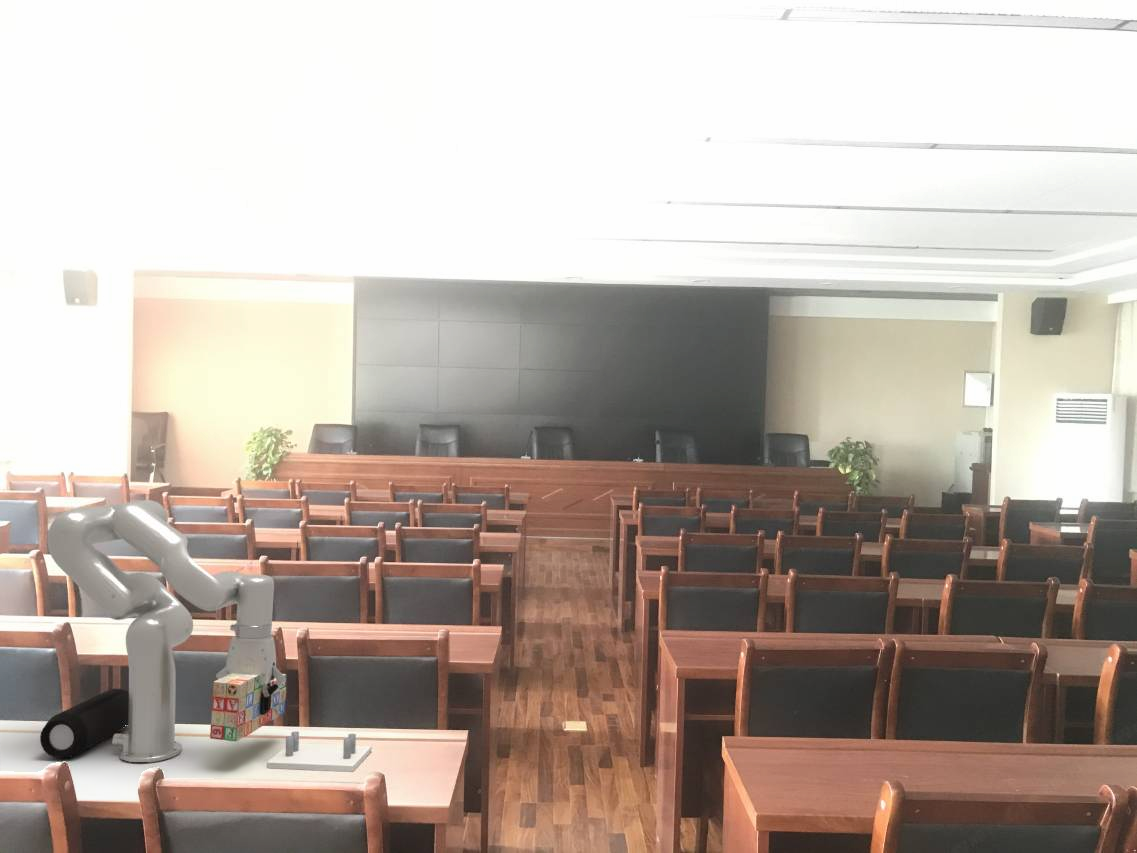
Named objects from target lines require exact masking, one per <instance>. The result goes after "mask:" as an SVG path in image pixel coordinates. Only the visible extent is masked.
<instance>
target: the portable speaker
mask: <svg viewBox="0 0 1137 853" xmlns="http://www.w3.org/2000/svg"><path fill="white" fill-rule="evenodd" d="M128 714H129V690H127V689H122V688H111V689H108V690H106V691H103V692H102V693H99V694H97V695H95V696H92V698H89V699H85V701H82V702H80V703H78V704H76V705H74V706H72V707H70V708H68V709H66V710H63V711H61V712H59V713H57V714H56V715H54V716H52V717H50V719H49V720H48V721H47V722H46V724H45V725H44V726H43V728H42V730H41V732H40V736H39V737H40V738H39V741H40V745H41V748H42V750H43V751H44V753H46V754H47V755H48V756H50V757H52V758H57V759H59V758H60V759H67V758H66V757H70V756H73V757H75V756H76V755H78V754H80V753H82V752H84V751H85V749H86V750H87V749H89V748H91V747H92V746H94V745H96V744H97V743H99V742H101V741H103V740H105V739H106V738H108V737H110V736H112V735H114V734H116V733H118V732H119V731H121V730H123V729H124V728H123V727H125V728H127V726H125V725H128ZM122 728H123V729H122ZM120 729H121V730H120ZM118 730H119V731H118ZM117 731H118V732H117ZM115 732H116V733H115ZM113 733H114V734H113ZM111 734H112V735H111ZM104 738H105V739H104ZM95 743H96V744H95ZM90 746H91V747H90ZM74 755H75V756H74ZM70 758H71V757H70Z"/></svg>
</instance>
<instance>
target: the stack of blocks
mask: <svg viewBox="0 0 1137 853" xmlns="http://www.w3.org/2000/svg"><path fill="white" fill-rule="evenodd" d="M282 674H283V675H284V677H285V678H286V679H287V674H286V673H282ZM258 677H259V675H248V674H238V673H232V674H230V675H227V676H225V677H223V678H220V679H217V680H214V681H213V688H212V689H213V690H212V699H211V719H210V720H211V721H210V734H209V739H211V740H217V741H219V740H220V741H226V742H227V741H228V742H236V743H237V742H238V741H241V740H242V739H243V738H245V737H247V736H249V735H251V734H252V733H255V732H256V731H258V730H259V729H260V728H262V727H263V726H265V725H266V724H268V723H270V722H272V721H274V720H275V719H277V718H279V717H281V716H283V715H284V714H285V712H286V696H287V687H286V685H287V680H286V681H285V682H284V683H283V684H282V685H281V686H280V687H279V688H278V689H277V690H276V691H275V692H274V693H273V694H271V708H270V710H269V711H268V712H267V713H266V714H264V715H261V714H260V707H261V697H263V692H262V689H261V686H258ZM276 681H277V679H276V678H275V679H274V680H272V681H271V684H272V685H274V684H275V683H276Z"/></svg>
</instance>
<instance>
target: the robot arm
mask: <svg viewBox="0 0 1137 853" xmlns="http://www.w3.org/2000/svg"><path fill="white" fill-rule="evenodd" d="M167 513H168V512H167V510H166V509H165V507H164V506H163V505H162V504H160V503H159V502H157V501H154V500H151V499H144V500H142V499H141V500H134V501H129V502H124V503H123V502H122V503H114V504H105V505H104V504H103V505H96V506H95V505H94V506H86V507H78V508H77V507H76V508H73V509H68V510H66V511H64V512H62V513H61V514H58V515H57V516H56V517H55V518H54V520H53V521H52V522H51V524H50V526H49V529H48V532H47V548H48V551H49V554H50V556H51V558H52V560H53V561H54V562H55V564H56V565H57V566H58V567H59V568H60V569H61V570H62V572H63V573H64V574H66V575H67V576H68V577H69V578H70V579H71V580H72V581H73V582H74V583H75V584H76V585H77V586H78V587H79V588H80V590H81V591H82V592H83V593H84V594H85V595H86V596H87V597H88V599H90V601H92V602H93V603H94V604H95V605H96V606H97V607H98V609H99V610H100V611H101V612H102V613H103V614H104V615H106V616H107V617H108V618H109V619H112V620H115V621H121V620H126V619H130V618H133V617H136V618H135V619H134V620H133V621H132V622H131V623H130V624H129V626H128V628H127V630H126V634H125V647H126V654H127V660H128V691H129V714H128V726H127V728H128V729H127V733H125V734H124V733H118V732H116V733H114V734H113V737H112V741H111V744H112V745H113V746H122V749H121V750H120V752H119V758H120V757H121V759H120V760H122V759H123V760H126V761H130V762H129V763H131V762H148V763H153V762H154V763H155V762H161V761H165V760H169V759H171V758H174V757H176V756H177V755H180V754H181V752H182V750H183V748H182V746H183V745H182V743H180V742H179V741H175V736H176V735H175V731H176V728H175V727H176V724H175V723H176V688H177V686H176V684H177V682H176V677H177V676H176V675H177V673H176V664H175V659H174V656H173V648H175V647H177V646H180V645H181V644H183V643H185V642H186V641H187V640H188V639H189V638H190V636H191V635H192V633H193V629H194V621H193V617H192V615H191V613H190V611H189V610H188V609H187V608H186V606H184V605H183V603H182V602H181V601H180V600H179V599H178V598H177V597H176V596H175V595H174V594H173V593H172V592H171V591H170V590H169V589H168V588H167V587H166V586H165V584H163V583H162V582H161V581H160V580H159V579H157V578H156V577H155V576H153V575H151V574H149V573H146V572H145V573H144V572H133V573H129V574H127V573H126V572H124V571H123V570H122V569H121V568H120V567H119V566H118V565H117V564H116V563H115V562H114V561H113V559H111V558H110V557H109V556H108V555H106V554H105V553H104V552H102V551H100V550H98V549H97V548H96V547H94V544H99V543H104V542H111V541H118V540H119V541H120V540H123V541H124V542H126V543H127V544H129V545H130V546H131V547H133V549H135V550H137V551H138V552H139V553H141V555H143V556H145V557H146V558H147V559H148V560H149V561H151V563H153V564H155V566H157V567H158V568H159V570H160V572H161V574H162V576H163V577H164V579H165V581H166V582H167V583H168V585H169V586H170V587H171V588H172V589H173V590H174V591H175V592H176V593H177V594H178V595H180V596H181V597H182V598H183V599H185V600H186V601H188V603H190V604H192V605H193V606H195V607H196V608H198V609H199V610H203V611H205V612H215V611H217V610H220V609H223V608H225V607H228V606H232V605H235V604H236V606H237V608H236V622H235V623H234V624H233V623H232V624H231V625H230V627H229V629H230V631H233V632H234V636H232V637H231V639H230V641H229V647H228V651H227V655H226V663H225V666H224V667H223V668H222V669H221V670H220V671H218V673H216V674H215V677H216V679H217V680H218V679H220V678H223V677H225V676H227V675H230V674H232V673H238V674H248V675H259V677H258V686H261V689H262V692H263V697H261V707H260V714H261V715H264V714H266V713H267V712H268V711H269V710H270V708H271V694H273V693H274V692H275V691H276V690H277V689H278V688H279V687H280V686H281V685H282V684H283V683H284V682H285V681H286V682H287V677H286V678H285V677H284V675H283V674H284V673H282V672H281V671H280V670H279V669H278V668H277V654H276V653H277V652H276V644H275V639H274V638H275V637H274V636H272V627H273V626H272V624H273V608H274V594H275V593H274V592H275V591H274V590H275V581H274V578H273V577H272V576H270V575H268V574H267V575H266V574H245V573H242V572H241V573H240V572H236V571H231V570H230V571H229V570H226V571H222V572H219V573H215V574H210V573H209V572H208V571H206V570H205V569H204V568H202V567H201V566H200V565H199V564H198V563H196V562H195V561H194V560H193V559H192V557H191V555H190V553H189V552H188V542H189V541H188V538H187V536H185V535H184V533H182V532H181V531H179V530H178V529H177V528H175V527H173V526H172V524H169V523H168V521H169V518H168V514H167ZM275 678H276V679H277V681H276V683H275V684H274V685H272V684H271V681H272V680H274V679H275ZM123 760H122V761H123ZM126 761H125V762H126Z"/></svg>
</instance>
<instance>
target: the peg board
mask: <svg viewBox="0 0 1137 853" xmlns="http://www.w3.org/2000/svg"><path fill="white" fill-rule="evenodd" d="M347 736H348V737H347V738H344V739H343V744H327V743H326V744H325V743H324V744H323V743H319V744H318V743H300V742H299V741H300V732H299V731H292V732H291V735H288V736H287V735H286V737H285V747H284V748H282V749H281V750H280V751H279V752H278V753H277V754H275V755H274V756H273V757H271V758H270V759H269V760H268V761H267V762H266V769H277V770H282V769H283V770H303V771H306V770H307V771H324V772H325V771H330V772H348V773H349V772H350V773H351V772H355V770H356V769H358V767H359V766H360V765H361V764H362V763H363V762H364V761H365V759H367V757H368V756H369V755H370V754H371V753H370V751H371V750H372V745H356V742H357V741H356V740H357V739H356V737H357V736H356V733H349V734H348V735H347ZM369 753H370V754H369ZM368 754H369V755H368ZM367 755H368V756H367ZM366 756H367V757H366Z"/></svg>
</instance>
